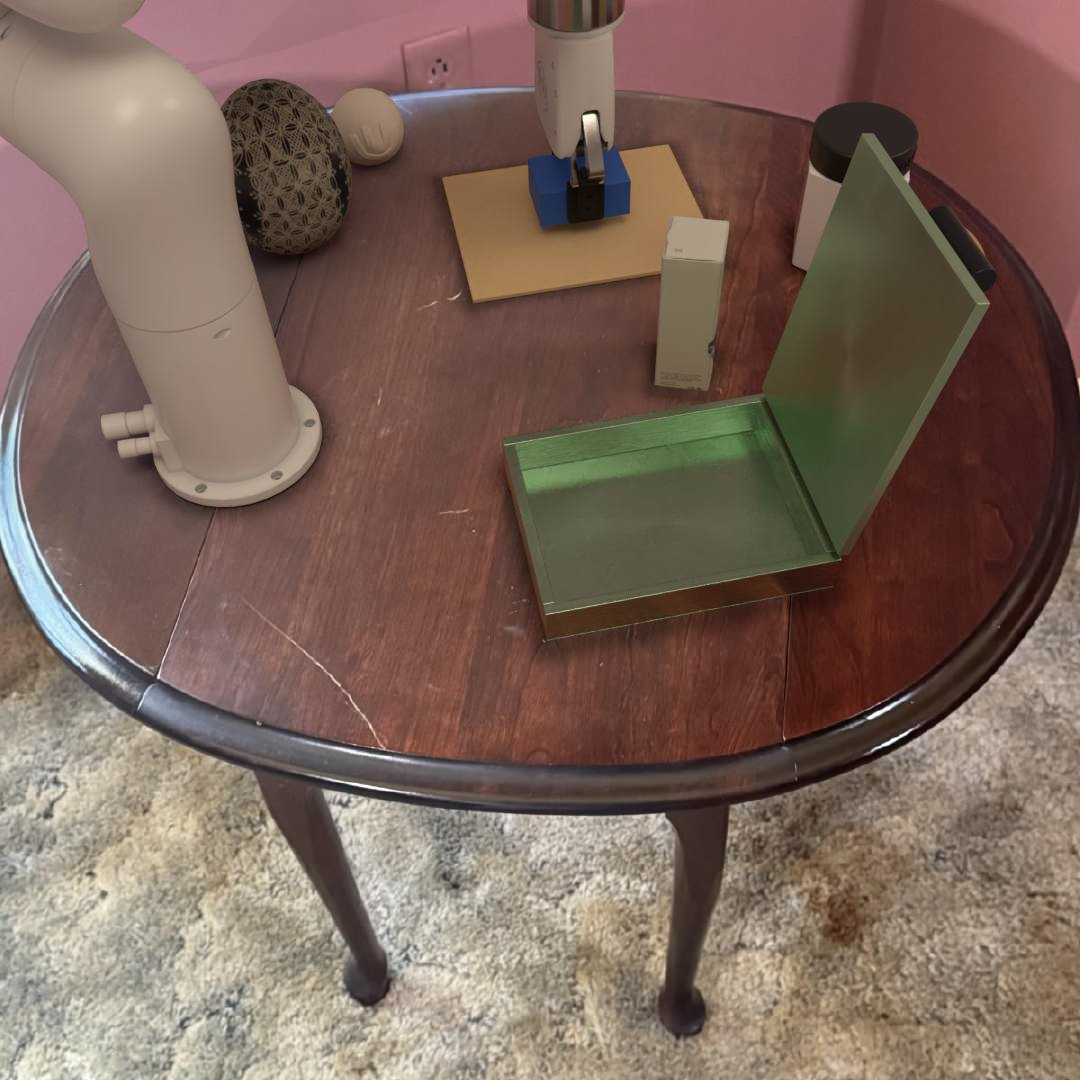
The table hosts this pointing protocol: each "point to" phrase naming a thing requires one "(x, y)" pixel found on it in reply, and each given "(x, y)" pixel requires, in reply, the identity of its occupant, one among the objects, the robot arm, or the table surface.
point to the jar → (844, 163)
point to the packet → (554, 172)
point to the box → (690, 301)
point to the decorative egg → (286, 167)
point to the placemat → (563, 230)
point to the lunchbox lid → (872, 338)
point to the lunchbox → (664, 516)
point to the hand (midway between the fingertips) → (577, 196)
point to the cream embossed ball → (369, 125)
